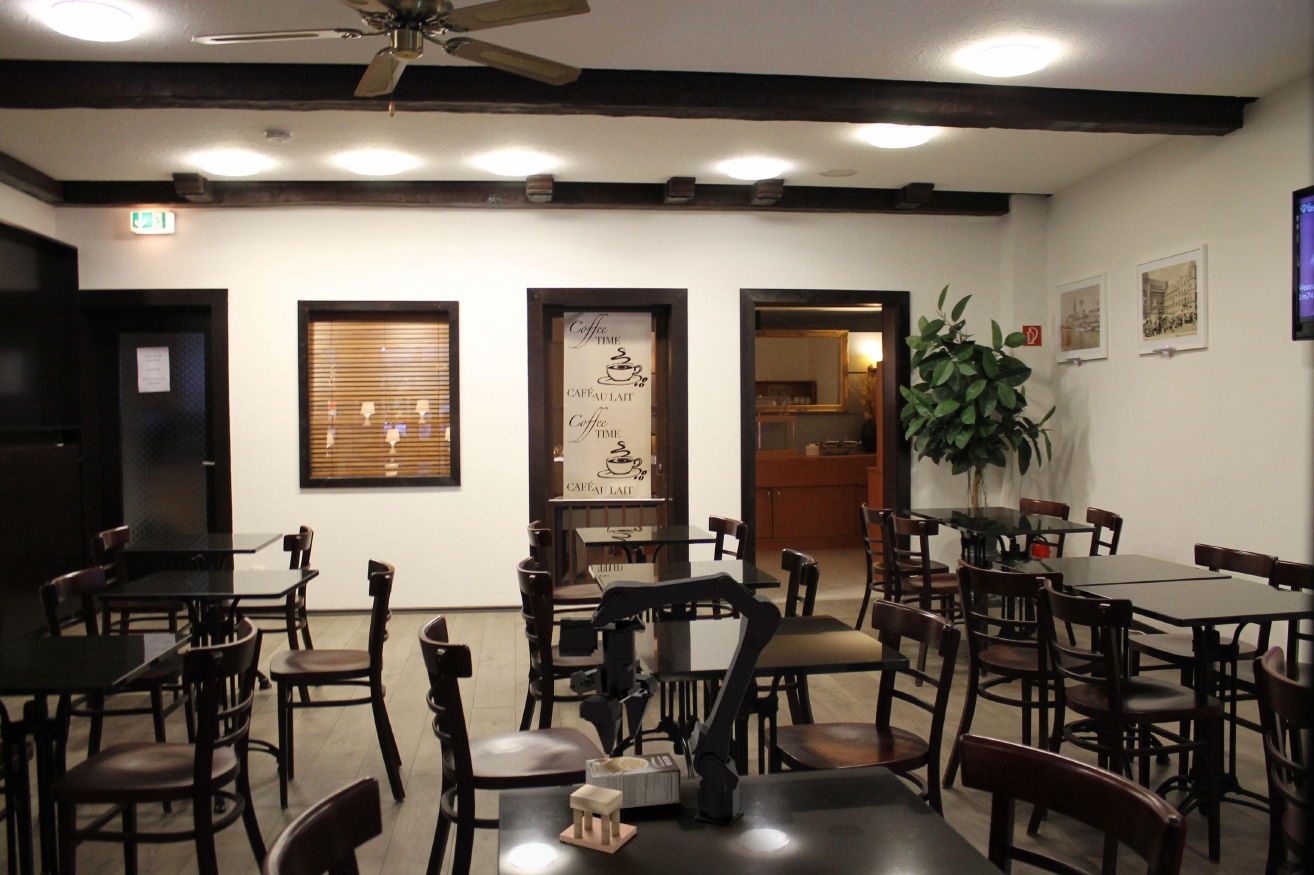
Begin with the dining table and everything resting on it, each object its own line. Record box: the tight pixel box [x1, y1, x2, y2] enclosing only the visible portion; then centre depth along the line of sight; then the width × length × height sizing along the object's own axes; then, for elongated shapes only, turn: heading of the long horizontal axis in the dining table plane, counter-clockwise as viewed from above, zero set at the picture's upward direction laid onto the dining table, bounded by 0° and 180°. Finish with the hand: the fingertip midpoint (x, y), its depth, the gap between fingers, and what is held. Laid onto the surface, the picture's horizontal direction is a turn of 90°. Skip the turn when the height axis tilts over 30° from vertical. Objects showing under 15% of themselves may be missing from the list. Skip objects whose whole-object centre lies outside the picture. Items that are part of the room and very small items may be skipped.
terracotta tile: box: [559, 816, 637, 854], centre depth 148 cm, size 10×8×1 cm
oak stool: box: [569, 783, 623, 845], centre depth 146 cm, size 7×5×7 cm
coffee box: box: [585, 752, 682, 809], centre depth 163 cm, size 9×6×16 cm
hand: (620, 745), depth 154 cm, fingers open, 9 cm apart
